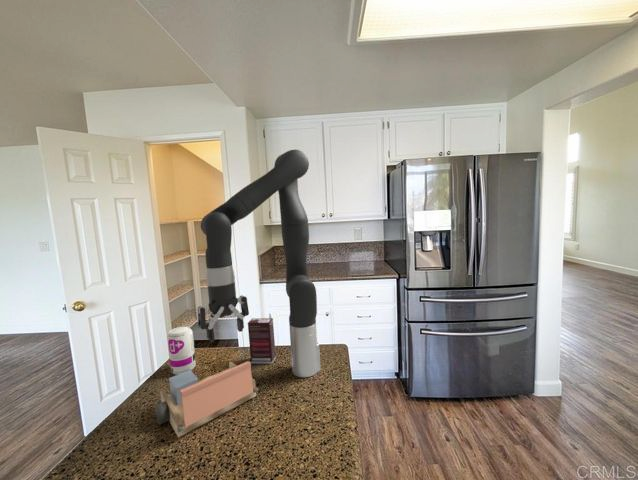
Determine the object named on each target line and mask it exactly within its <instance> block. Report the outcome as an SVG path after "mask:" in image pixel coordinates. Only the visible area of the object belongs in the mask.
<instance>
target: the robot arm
mask: <svg viewBox="0 0 638 480" xmlns="http://www.w3.org/2000/svg"><path fill="white" fill-rule="evenodd" d="M309 162H310V161H309V158H308V156H307V155H306V153H305V152H304V151H302V150H300V149H290V150H288V151H285V152H284V153H282V154H280V155H278V157H276V160H275V161H274V167H273V168H272V169H270V170H269V171H268V172H266V173H265V174H263V175H262V176H260V177H259V178H258V179H256V180H254V181H252V182H251V183H248V184H247V185H246V186H245V187H243V188H242V189H240V190H238V192H236V193H235V194H234V195H233V196H231V197H230V198H228V199H227V200H226V201H225V202H224V203H222V204H220V205H219V206H218V207H216V208H215V209H213V210H211V211H210V212H209V213H207V214H205V215H204V216H203V218H202V219H201V222H200V229H201V231H202V233H203V234H204V235H205V237H206V249H205V255H204V256H205V264H206V284H207V294H208V305H204V306H201V305H199V306H198V307H197V323H198V324H197V325H198V328H200V329H201V330H205V331H206V338H207V340H209V341H210V342H211V343H212V342H215V332H214V328H213V327H214V326H215V324H216V322H218V320H219V318H220V319H222V318H225V317H226V316H227V317H228V316H231V315H234V316H235V317H236V320H235V321H236V329H237V332H243V331H244V330H243V329H244V328H245V326H244V325H245V323H244V322H245V321H244V318H245V317H246V316H249V315H250V312H249V304H248V297H247V296H244V295H239V297H237V292H236V282H235V281H236V280H235V279H236V277H235V271H234V267H233V260H232V259H233V257H232V251H231V246H232V238H233V237H232V235H233V234H232V233H233V229H232V226H233V225H234V224H235V223H237V222H239V221H240V220H242V219H245V218H247V217H248V216H249V215H250V214H252V212H254V211H255V210H257V209H258V207H260V206H261V205H262V204H263V203H265V202H266V201H268V199H269V198H271V197H272V196H273V195H274V194H276V193H277V192H278V199H279V210H280V211H279V212H280V225H281V226H280V228H281V238H282V243H283V244H282V245H283V252H284V258H285V264H286V265H285V267H286V268H285V269H286V272H285V273H286V275H285V280H286V281H285V292H286V294H287V296H288V298H289V299H288V300H289V316H288V323H289V341H290V352H291V353H290V355H291V370H292V374H293V375H294V376H295V377H298V378H310V377H312V376H315V375H316V374H317V373H319V372H321V354H320V352H321V351H320V344H319V342H318V337H317V335H318V332H317V319H316V318H317V314H318V305H317V303H318V299H317V288H316V285H315V284H314V283H313V282H312V281H311V280H310V278H309V273H308V272H309V271H308V264H307V257H308V256H307V255H308V251H309V244H310V232H309V231H310V229H309V227H310V226H309V219H308V214H307V212H306V210H305V207H304V206H303V203H302V201H301V199H300V195H299V185H298V183H299V182H298V179H300V178H301V179H302V177H304V175H306V174H307V172H308V170H309V167H310V166H309V165H310V163H309ZM238 304H239V305H240V310H241V312H240V311H239V310H238V309H237V305H238ZM208 311H210V314H209V316H208V318H206V315H207V314H208ZM206 319H207V321H206Z"/></svg>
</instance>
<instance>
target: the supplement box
mask: <svg viewBox="0 0 638 480" xmlns="http://www.w3.org/2000/svg"><path fill="white" fill-rule="evenodd" d="M247 327H248V328H247V330H248V342H249V350H250V351H249V352H250V353H249V354H250V362H251V364H270V365H271V364H273V363H274V362H275V360H276V358H277V357H276V355H277V354H276V346H275V345H276V342H275V329H274V318H272V317H269V318H268V317H267V318H254V317H252V318H251V319H250V320H249V321H248V322H247Z"/></svg>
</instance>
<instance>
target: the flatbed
mask: <svg viewBox="0 0 638 480" xmlns="http://www.w3.org/2000/svg"><path fill="white" fill-rule="evenodd" d="M236 366H237V364H236V363H235V362H233V361H230V362H228V368H227V369H224V370H222V371H219V372H217V373H215V374H213V375H210V376H207V377H205V378H204V379H201V380H198V381H199V382H201V381H203V380H205V379H208V378H210V377H212V376H215V375H217V374H219V373H222V372H224V371H226V370H229V369H231V368H233V367H236ZM251 374H252V372H251ZM252 375H253V374H252ZM252 384H253V393H251V394H249V395H247V396H245V397H243V398H241V399H239V400H237V401H235V402H233V403H232V404H230V405H228V406H226V407H224V408H222V409H220V410H218V411H216V412H214V413H212V414H210V415H209V416H207V417H205V418H203V419H201V420H199V421H197V422H195V423H193V424H191V425H189V426H187V427H186V428H185V426H184V420H183V411H182V403H181V404H179V405H177V403H176V402H175V400H174V398H173V397H172V395H171V392H170V393H168V394H167V392H166V390H165V389H162V390H160V391H159V392H160V400H161V402H160V403H158V404H156V405H154V413H155V417H156V422H157V425H158V426H161V425H163V424H165V423H167V422H169V423H170V425H171V427H172V429H173V431H174V432H175V434H176V436H177V438H180V437H182V436H184V435H186V434H188V433H190V432H191V431H194V430H195V429H197V428H199V427H201V426H202V425H204V424H207V423H209V422H210V421H211V420H213V419H215V418H218V417H220V416H221V415H224V414H225V413H227V412H229V411H231V410H233V409H234V408H236V407H238V406H240V405H242V404H244V403H246V402H248V401H250V400H251V399H254V398H255V397H257V392H258V391H259V388H258V387H257V386H256V379H254V378H253V377H252Z"/></svg>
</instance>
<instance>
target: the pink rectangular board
mask: <svg viewBox="0 0 638 480" xmlns="http://www.w3.org/2000/svg"><path fill="white" fill-rule="evenodd" d="M228 369H229V368H228ZM225 370H226V369H225ZM223 371H224V370H223ZM221 372H222V371H221ZM218 373H219V372H218ZM251 373H252V363H251V361H249V360H247V361H245V362H243V363H240V364H239V365H236V367H233V368H231V369H229V370H226V371H224V372H222V373H219V374H217V373H216V374H217V375H215V374H214V375H215V376H212V375H211V376H212V377H210V376H209V377H210V378H208V377H207V378H208V379H205V378H204V379H205V380H203V379H202V380H203V381H201V380H200V381H201V382H198V383H196V384H194V385H191V386H189V387H187V388H184V389H182V390H180V394H181V402H182V411H183V420H184V426H185V428H186V427H187V426H189V425H191V424H193V423H195V422H197V421H199V420H201V419H203V418H205V417H207V416H209V415H210V414H212V413H214V412H216V411H218V410H220V409H222V408H224V407H226V406H228V405H230V404H232V403H233V402H235V401H237V400H239V399H241V398H243V397H245V396H247V395H249V394H251V393H253V384H252V378H253V374H251Z"/></svg>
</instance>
